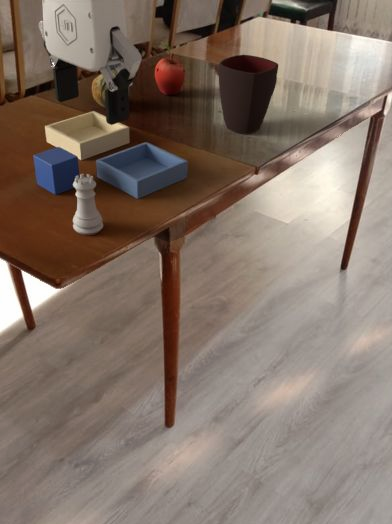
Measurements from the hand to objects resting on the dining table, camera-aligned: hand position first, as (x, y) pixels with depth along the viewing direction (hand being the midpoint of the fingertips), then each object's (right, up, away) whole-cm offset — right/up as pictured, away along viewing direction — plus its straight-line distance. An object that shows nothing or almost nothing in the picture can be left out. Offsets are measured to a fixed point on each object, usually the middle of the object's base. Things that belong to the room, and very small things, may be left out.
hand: (92, 110), depth 78 cm
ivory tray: (-7, +8, +37) cm, 39 cm away
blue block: (-9, -3, +24) cm, 26 cm away
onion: (-4, +20, +51) cm, 55 cm away
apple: (+7, +25, +58) cm, 64 cm away
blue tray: (+4, -1, +27) cm, 28 cm away
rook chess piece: (-3, -12, +14) cm, 19 cm away
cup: (+23, +14, +46) cm, 54 cm away
